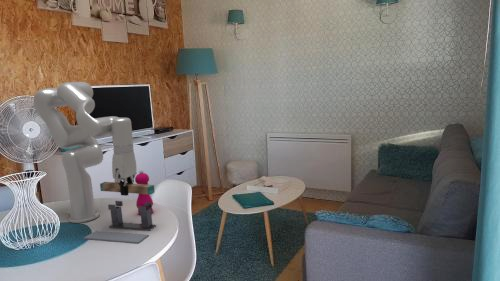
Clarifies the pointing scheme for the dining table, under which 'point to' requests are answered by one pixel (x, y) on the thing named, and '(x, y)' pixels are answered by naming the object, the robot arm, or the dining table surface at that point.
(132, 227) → the bracket
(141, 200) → the pepper mill
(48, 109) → the robot arm
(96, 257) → the dining table surface
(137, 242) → the mat
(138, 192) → the rail
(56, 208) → the dining table surface
